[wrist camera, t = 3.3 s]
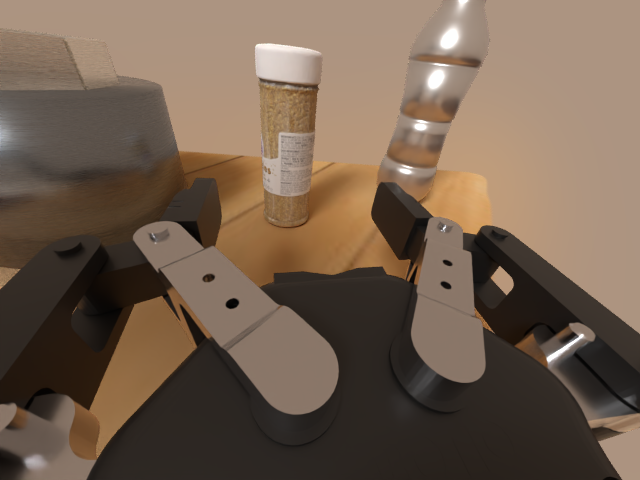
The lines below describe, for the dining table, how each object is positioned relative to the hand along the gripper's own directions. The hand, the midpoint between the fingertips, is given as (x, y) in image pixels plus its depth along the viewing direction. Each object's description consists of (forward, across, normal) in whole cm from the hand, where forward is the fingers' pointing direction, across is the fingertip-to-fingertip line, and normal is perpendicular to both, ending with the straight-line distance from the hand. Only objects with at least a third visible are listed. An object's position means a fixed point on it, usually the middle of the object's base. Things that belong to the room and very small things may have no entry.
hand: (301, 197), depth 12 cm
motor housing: (+12, +18, +7) cm, 23 cm away
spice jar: (+10, 0, +8) cm, 12 cm away
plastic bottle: (+14, -15, +8) cm, 22 cm away
